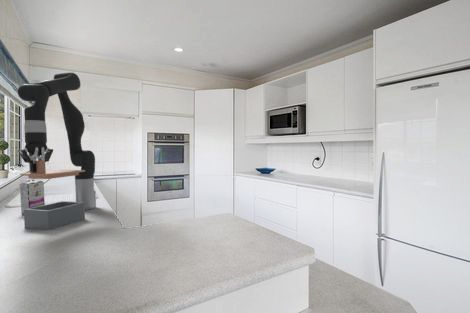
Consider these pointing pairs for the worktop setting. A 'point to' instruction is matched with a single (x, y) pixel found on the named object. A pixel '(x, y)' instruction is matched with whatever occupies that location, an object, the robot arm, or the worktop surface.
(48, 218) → the tub
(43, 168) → the lid
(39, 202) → the candy bar box
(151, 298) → the worktop surface
